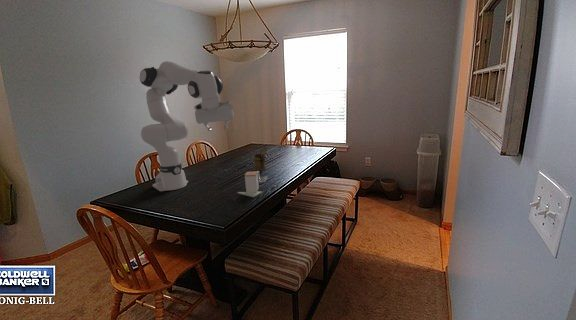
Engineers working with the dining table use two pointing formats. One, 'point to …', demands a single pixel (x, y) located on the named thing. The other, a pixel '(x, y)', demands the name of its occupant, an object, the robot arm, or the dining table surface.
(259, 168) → the wooden mug
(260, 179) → the square base plate
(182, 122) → the robot arm
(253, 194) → the pad
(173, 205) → the dining table surface
